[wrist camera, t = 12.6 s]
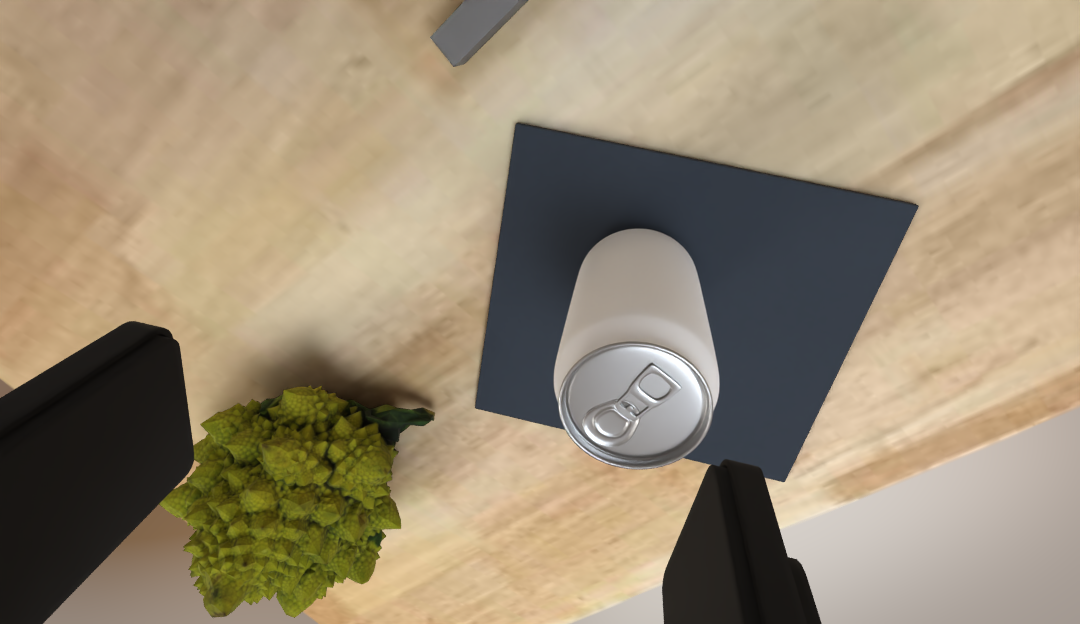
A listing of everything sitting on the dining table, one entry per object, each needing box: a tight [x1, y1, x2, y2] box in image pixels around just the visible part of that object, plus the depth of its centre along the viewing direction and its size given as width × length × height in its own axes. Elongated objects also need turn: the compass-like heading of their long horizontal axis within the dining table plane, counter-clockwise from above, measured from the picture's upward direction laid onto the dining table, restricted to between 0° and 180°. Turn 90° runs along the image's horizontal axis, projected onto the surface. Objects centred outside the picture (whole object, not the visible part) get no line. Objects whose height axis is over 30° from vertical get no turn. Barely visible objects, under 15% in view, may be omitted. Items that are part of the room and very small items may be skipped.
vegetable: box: [159, 385, 435, 618], centre depth 37 cm, size 15×16×15 cm
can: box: [554, 229, 719, 469], centre depth 27 cm, size 6×6×12 cm
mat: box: [475, 123, 919, 482], centre depth 33 cm, size 20×18×1 cm
